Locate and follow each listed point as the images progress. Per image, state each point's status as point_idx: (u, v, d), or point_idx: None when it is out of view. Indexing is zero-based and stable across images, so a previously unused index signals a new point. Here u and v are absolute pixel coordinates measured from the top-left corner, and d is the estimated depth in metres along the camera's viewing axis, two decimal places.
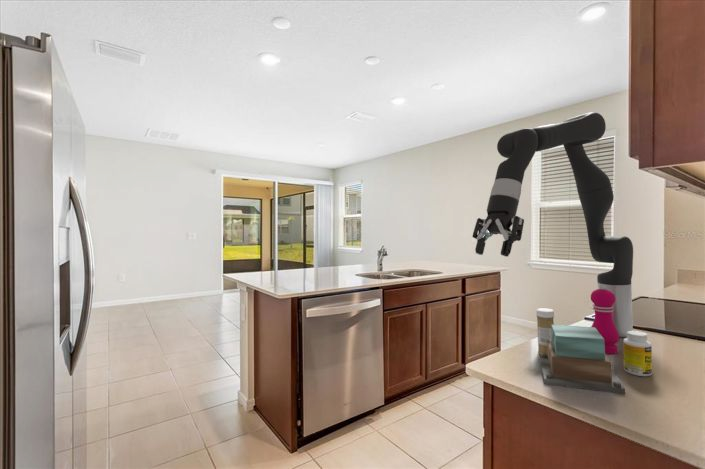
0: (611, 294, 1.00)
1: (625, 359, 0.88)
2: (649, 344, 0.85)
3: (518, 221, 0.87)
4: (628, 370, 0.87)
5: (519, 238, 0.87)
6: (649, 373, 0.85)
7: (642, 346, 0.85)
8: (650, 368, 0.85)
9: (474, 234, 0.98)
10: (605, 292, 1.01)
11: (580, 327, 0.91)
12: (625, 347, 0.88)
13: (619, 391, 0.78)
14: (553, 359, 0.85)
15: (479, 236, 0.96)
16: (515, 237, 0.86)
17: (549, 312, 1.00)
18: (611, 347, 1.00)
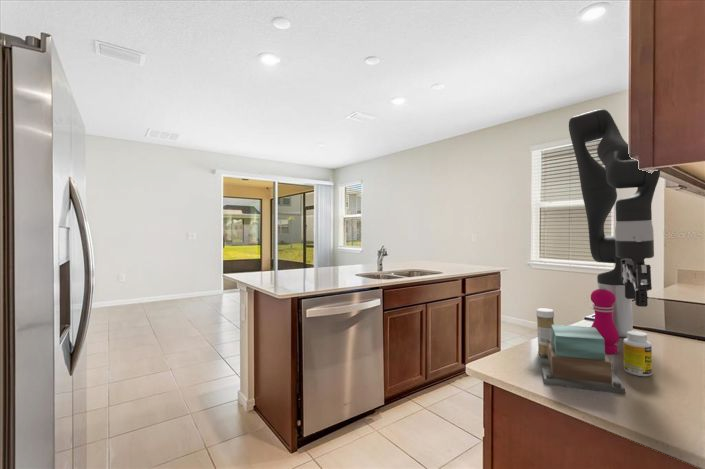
0: (611, 294, 1.00)
1: (625, 359, 0.88)
2: (649, 344, 0.85)
3: None
4: (628, 370, 0.87)
5: None
6: (649, 373, 0.85)
7: (642, 346, 0.85)
8: (650, 368, 0.85)
9: None
10: (605, 292, 1.01)
11: (580, 327, 0.91)
12: (625, 347, 0.88)
13: (619, 391, 0.78)
14: (553, 359, 0.85)
15: None
16: None
17: (549, 312, 1.00)
18: (611, 347, 1.00)
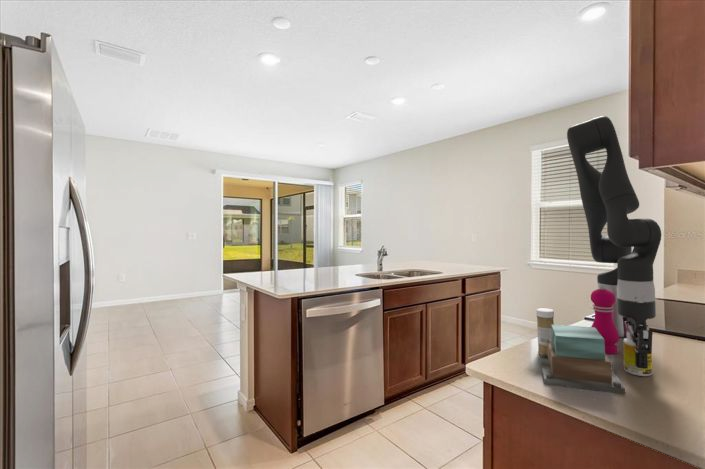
0: (611, 294, 1.00)
1: (625, 359, 0.88)
2: None
3: None
4: (628, 370, 0.87)
5: None
6: (649, 373, 0.85)
7: (642, 346, 0.85)
8: (650, 368, 0.85)
9: None
10: (605, 292, 1.01)
11: (580, 327, 0.91)
12: (625, 347, 0.88)
13: (619, 391, 0.78)
14: (553, 359, 0.85)
15: None
16: None
17: (549, 312, 1.00)
18: (611, 347, 1.00)
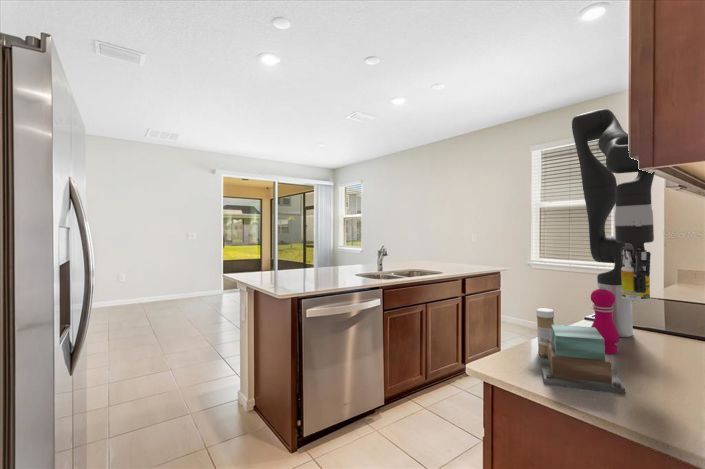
0: (611, 294, 1.00)
1: (623, 286, 0.88)
2: None
3: None
4: (626, 297, 0.87)
5: None
6: (647, 298, 0.85)
7: (640, 270, 0.85)
8: (648, 293, 0.85)
9: None
10: (605, 292, 1.01)
11: (580, 327, 0.91)
12: (623, 274, 0.88)
13: (619, 391, 0.78)
14: (553, 359, 0.85)
15: None
16: None
17: (549, 312, 1.00)
18: (611, 347, 1.00)
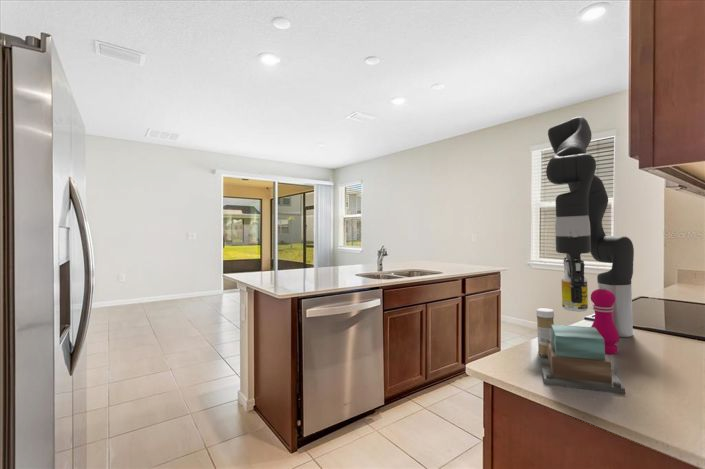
0: (611, 294, 1.00)
1: (562, 296, 0.88)
2: (584, 279, 0.85)
3: None
4: (565, 307, 0.87)
5: None
6: (584, 308, 0.85)
7: (577, 281, 0.85)
8: (585, 303, 0.85)
9: (583, 282, 0.82)
10: (605, 292, 1.01)
11: (580, 327, 0.91)
12: (562, 284, 0.88)
13: (619, 391, 0.78)
14: (553, 359, 0.85)
15: None
16: None
17: (549, 312, 1.00)
18: (611, 347, 1.00)
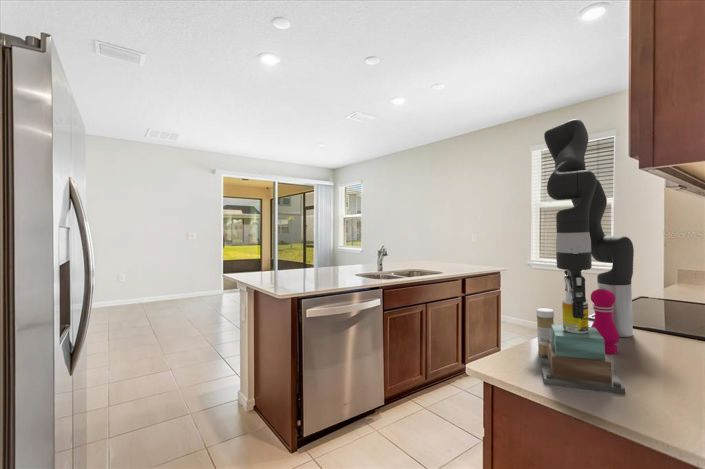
0: (611, 294, 1.00)
1: (563, 318, 0.89)
2: (585, 302, 0.86)
3: None
4: (566, 328, 0.88)
5: None
6: (585, 330, 0.85)
7: None
8: (586, 325, 0.86)
9: None
10: (605, 292, 1.01)
11: None
12: (563, 306, 0.88)
13: (619, 391, 0.78)
14: (553, 359, 0.85)
15: None
16: None
17: (549, 312, 1.00)
18: (611, 347, 1.00)
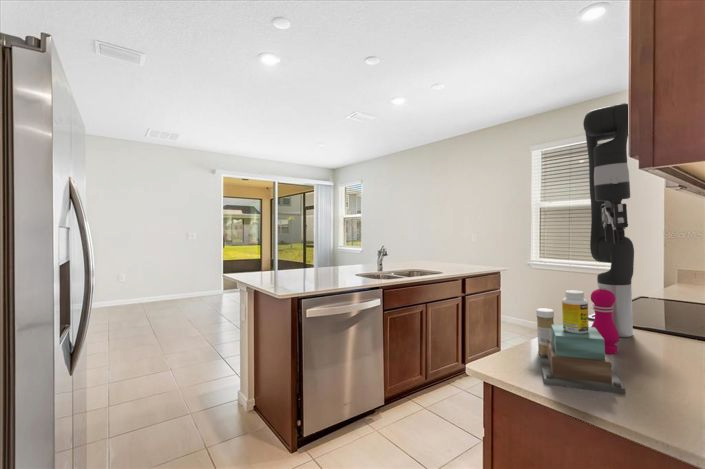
0: (611, 294, 1.00)
1: (563, 318, 0.89)
2: (585, 301, 0.86)
3: None
4: (566, 328, 0.88)
5: None
6: (585, 330, 0.85)
7: (578, 303, 0.85)
8: (586, 325, 0.86)
9: None
10: (605, 292, 1.01)
11: None
12: (563, 306, 0.88)
13: (619, 391, 0.78)
14: (553, 359, 0.85)
15: None
16: None
17: (549, 312, 1.00)
18: (611, 347, 1.00)
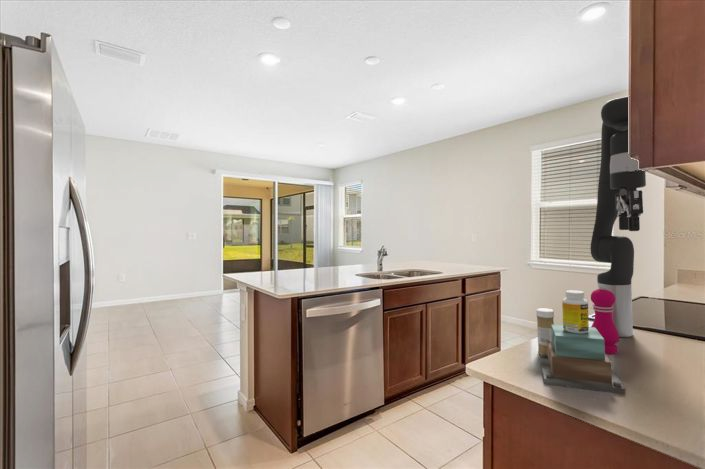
0: (611, 294, 1.00)
1: (563, 318, 0.89)
2: (585, 302, 0.86)
3: None
4: (566, 328, 0.88)
5: None
6: (585, 330, 0.85)
7: (578, 303, 0.85)
8: (586, 325, 0.86)
9: None
10: (605, 292, 1.01)
11: None
12: (563, 306, 0.88)
13: (619, 391, 0.78)
14: (553, 359, 0.85)
15: None
16: None
17: (549, 312, 1.00)
18: (611, 347, 1.00)
